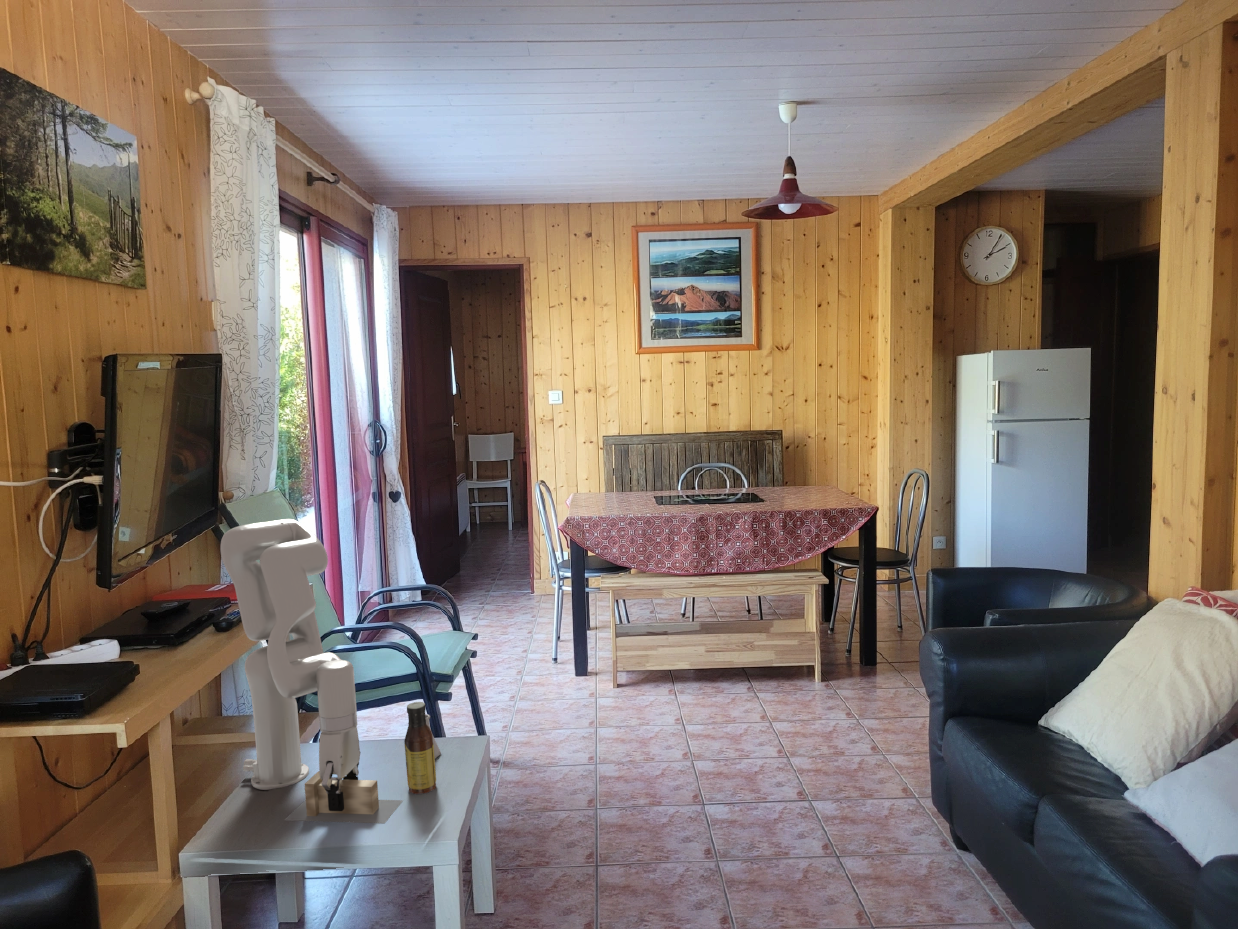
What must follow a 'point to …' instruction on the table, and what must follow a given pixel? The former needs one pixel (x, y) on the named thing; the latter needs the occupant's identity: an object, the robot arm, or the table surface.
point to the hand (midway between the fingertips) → (344, 801)
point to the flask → (436, 749)
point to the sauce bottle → (419, 751)
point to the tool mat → (379, 816)
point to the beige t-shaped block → (355, 793)
